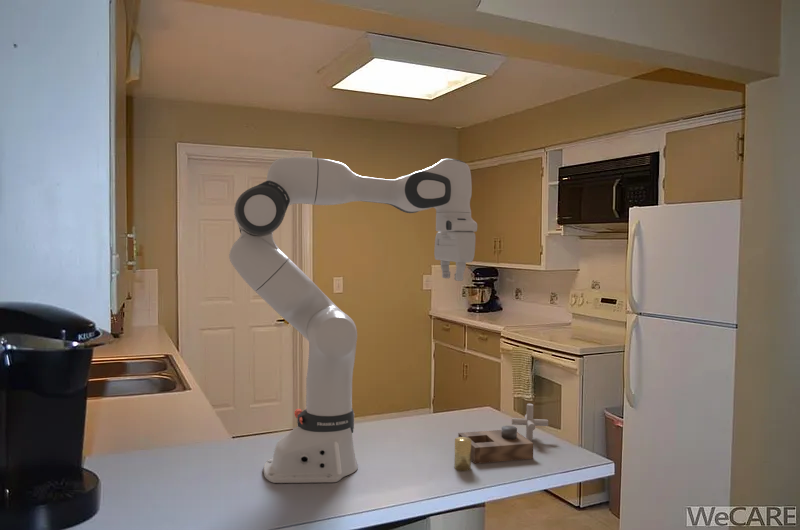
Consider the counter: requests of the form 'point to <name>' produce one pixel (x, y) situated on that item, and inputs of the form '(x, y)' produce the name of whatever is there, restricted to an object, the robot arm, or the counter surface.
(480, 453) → the jig
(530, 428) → the pipe connector
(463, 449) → the tan cylinder
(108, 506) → the counter surface
